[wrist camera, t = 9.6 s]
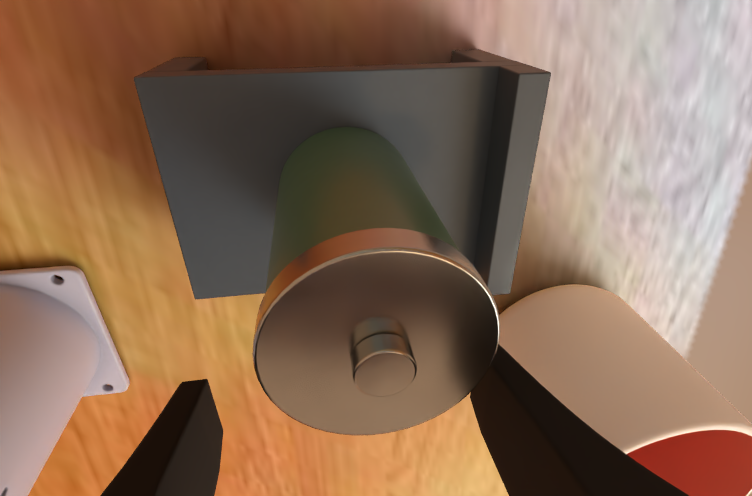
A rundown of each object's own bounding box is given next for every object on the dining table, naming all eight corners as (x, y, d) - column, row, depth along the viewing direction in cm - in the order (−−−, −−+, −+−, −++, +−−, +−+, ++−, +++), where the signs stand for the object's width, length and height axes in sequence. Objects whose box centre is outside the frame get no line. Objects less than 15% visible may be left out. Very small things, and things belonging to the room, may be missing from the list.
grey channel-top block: (215, 242, 20) (185, 326, 15) (172, 57, 16) (112, 87, 11) (461, 223, 22) (510, 294, 17) (479, 49, 18) (551, 71, 13)
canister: (284, 256, 16) (269, 472, 9) (266, 126, 14) (225, 279, 6) (411, 245, 17) (494, 441, 9) (415, 119, 14) (533, 252, 7)
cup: (576, 242, 23) (733, 385, 15) (646, 333, 28) (796, 483, 19) (435, 347, 26) (499, 522, 17) (520, 416, 30) (604, 580, 22)
